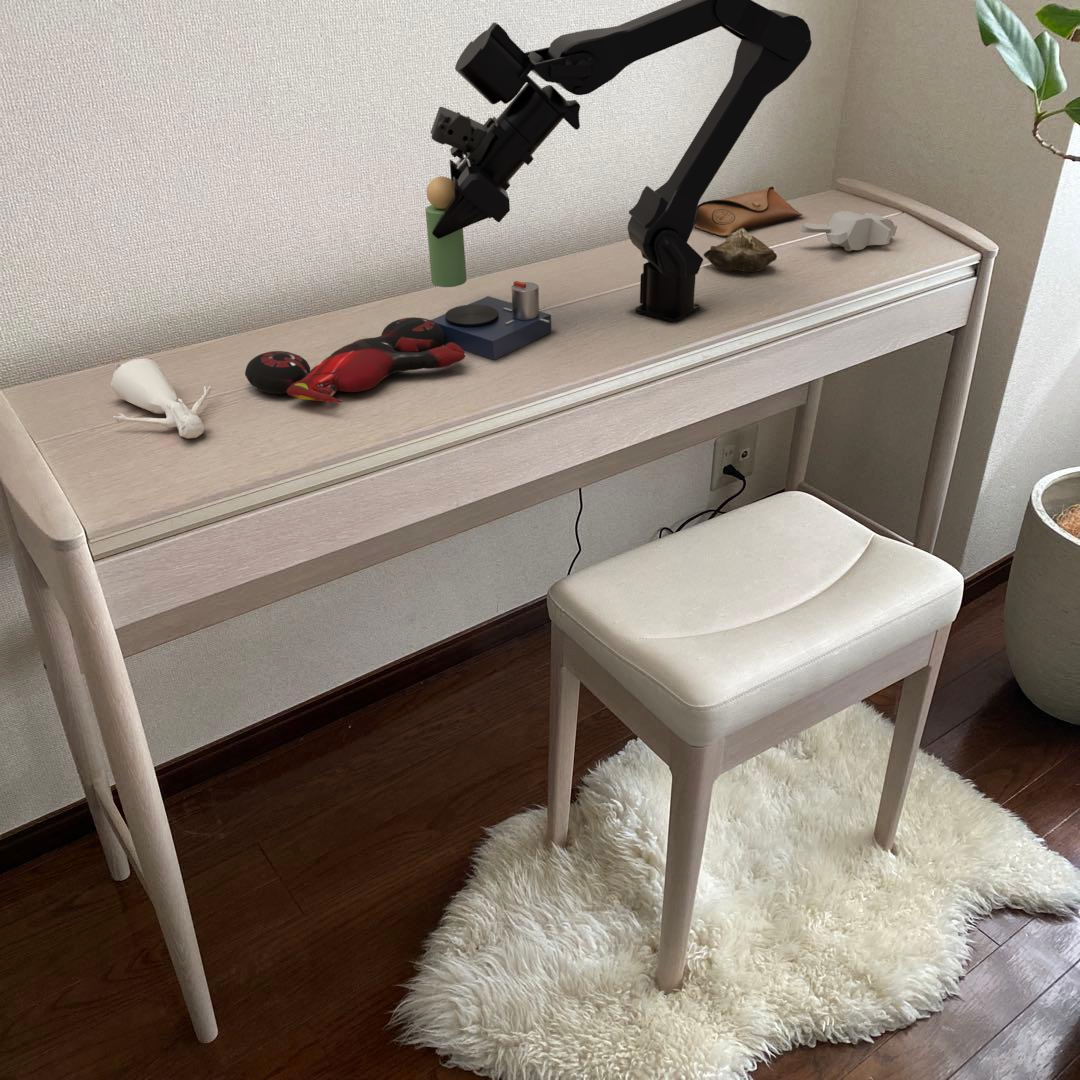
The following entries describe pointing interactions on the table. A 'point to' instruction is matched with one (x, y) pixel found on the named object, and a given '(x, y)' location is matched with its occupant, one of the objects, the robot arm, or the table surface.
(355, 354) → the toy motorcycle
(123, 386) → the woman figurine
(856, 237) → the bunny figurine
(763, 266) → the fossilized seashell
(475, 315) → the burner plate
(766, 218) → the sunglasses case
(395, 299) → the table surface
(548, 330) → the hot plate
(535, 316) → the stove knob
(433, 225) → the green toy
